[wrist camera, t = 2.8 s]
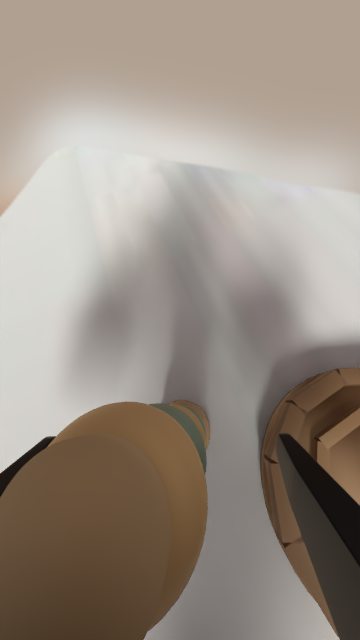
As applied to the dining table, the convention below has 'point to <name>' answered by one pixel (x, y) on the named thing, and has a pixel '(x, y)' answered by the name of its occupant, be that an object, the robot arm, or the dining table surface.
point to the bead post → (104, 524)
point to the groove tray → (323, 445)
